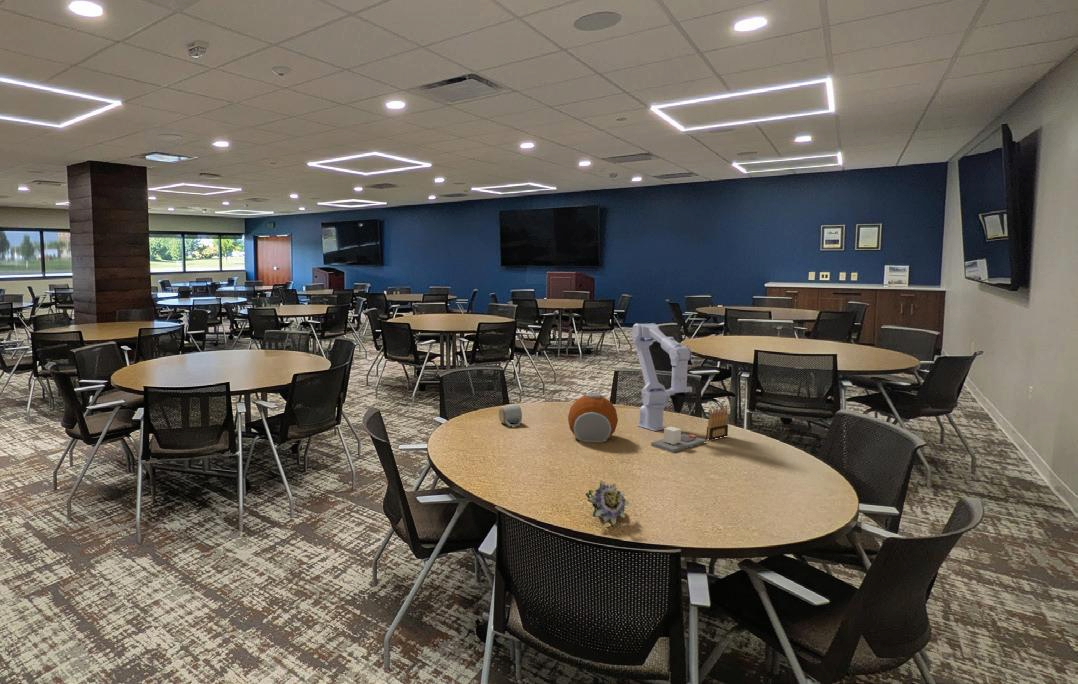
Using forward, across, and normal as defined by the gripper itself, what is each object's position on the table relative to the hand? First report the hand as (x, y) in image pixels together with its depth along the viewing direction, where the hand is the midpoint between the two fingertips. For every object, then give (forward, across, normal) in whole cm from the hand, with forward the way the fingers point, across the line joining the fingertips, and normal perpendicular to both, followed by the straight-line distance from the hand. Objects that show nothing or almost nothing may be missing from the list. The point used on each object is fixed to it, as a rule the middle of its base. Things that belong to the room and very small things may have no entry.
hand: (677, 411), depth 223 cm
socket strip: (+10, -6, -6) cm, 13 cm away
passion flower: (+12, -75, -34) cm, 83 cm away
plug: (+10, -10, -5) cm, 15 cm away
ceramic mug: (+10, -41, +52) cm, 67 cm away
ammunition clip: (+11, +13, -10) cm, 20 cm away
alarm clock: (+10, -27, +20) cm, 35 cm away
